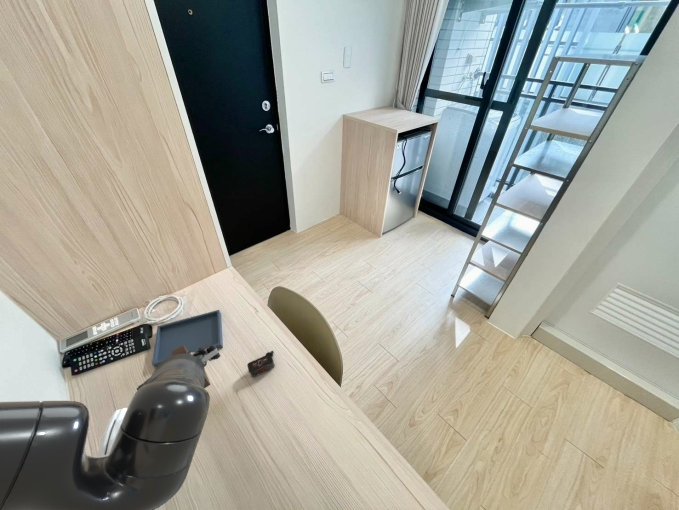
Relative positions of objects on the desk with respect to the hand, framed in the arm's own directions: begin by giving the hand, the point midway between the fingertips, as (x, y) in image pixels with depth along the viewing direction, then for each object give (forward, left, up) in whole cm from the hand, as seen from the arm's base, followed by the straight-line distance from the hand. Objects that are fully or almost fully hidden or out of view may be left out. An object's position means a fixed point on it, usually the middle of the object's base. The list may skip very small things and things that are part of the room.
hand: (184, 359), depth 56 cm
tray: (-5, +17, -18) cm, 25 cm away
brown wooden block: (+1, -2, -4) cm, 4 cm away
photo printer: (-15, -7, -18) cm, 24 cm away
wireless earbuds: (+14, +2, -18) cm, 23 cm away
